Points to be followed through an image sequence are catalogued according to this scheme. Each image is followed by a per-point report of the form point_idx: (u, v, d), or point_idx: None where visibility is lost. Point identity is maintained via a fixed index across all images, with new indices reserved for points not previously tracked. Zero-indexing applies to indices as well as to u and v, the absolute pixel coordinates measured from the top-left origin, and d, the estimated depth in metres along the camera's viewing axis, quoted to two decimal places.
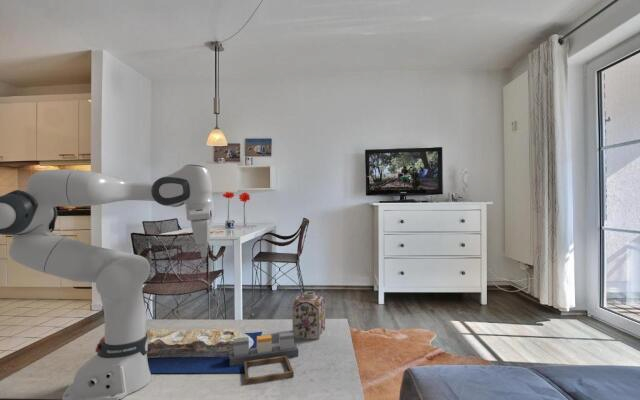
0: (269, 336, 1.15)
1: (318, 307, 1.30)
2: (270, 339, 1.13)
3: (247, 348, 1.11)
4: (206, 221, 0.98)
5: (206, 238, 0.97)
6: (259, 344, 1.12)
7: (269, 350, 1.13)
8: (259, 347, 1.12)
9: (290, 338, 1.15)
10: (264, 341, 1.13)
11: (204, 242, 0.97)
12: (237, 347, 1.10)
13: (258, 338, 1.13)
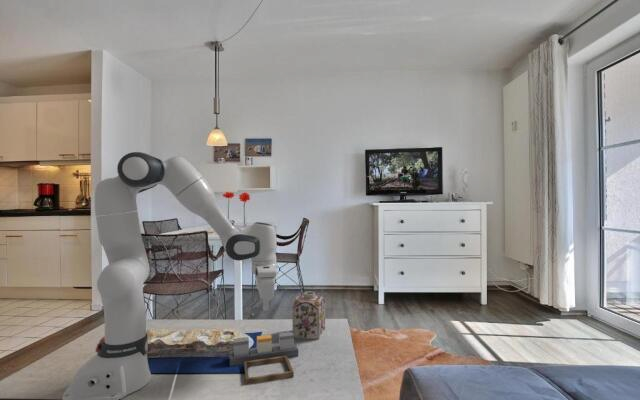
0: (269, 336, 1.15)
1: (318, 307, 1.30)
2: (270, 339, 1.13)
3: (247, 348, 1.11)
4: (273, 279, 1.07)
5: (272, 296, 1.06)
6: (259, 344, 1.12)
7: (269, 350, 1.13)
8: (259, 347, 1.12)
9: (290, 338, 1.15)
10: (264, 341, 1.13)
11: (270, 299, 1.06)
12: (237, 347, 1.10)
13: (258, 338, 1.13)
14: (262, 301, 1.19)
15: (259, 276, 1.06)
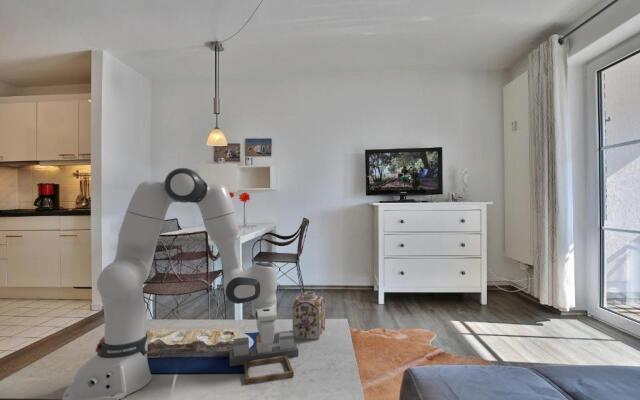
0: None
1: (318, 307, 1.30)
2: None
3: (247, 348, 1.11)
4: (273, 323, 1.06)
5: (272, 340, 1.05)
6: (259, 344, 1.12)
7: (269, 350, 1.13)
8: (259, 347, 1.12)
9: (290, 338, 1.15)
10: None
11: (270, 343, 1.05)
12: (237, 347, 1.10)
13: (258, 338, 1.13)
14: None
15: (259, 320, 1.05)
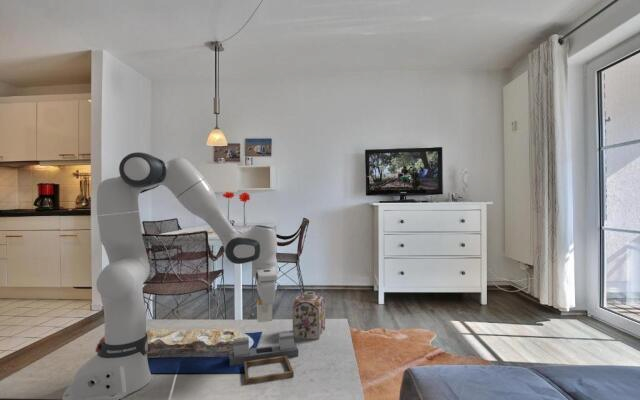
0: None
1: (318, 307, 1.30)
2: None
3: (247, 348, 1.11)
4: (274, 283, 1.06)
5: (273, 299, 1.05)
6: (259, 306, 1.12)
7: (269, 312, 1.13)
8: (259, 309, 1.12)
9: (290, 338, 1.15)
10: None
11: (270, 303, 1.05)
12: (237, 347, 1.10)
13: (258, 300, 1.12)
14: None
15: (260, 280, 1.05)
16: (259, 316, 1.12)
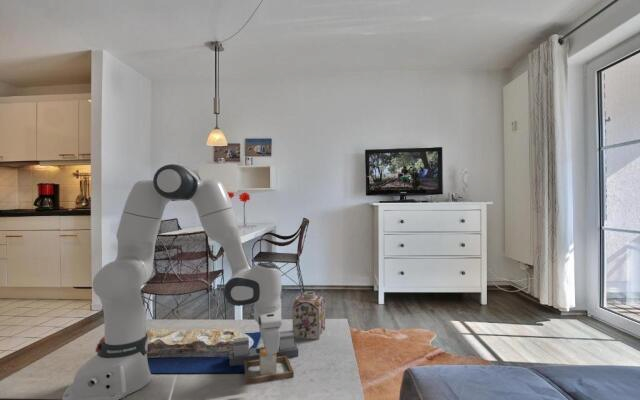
0: None
1: (318, 307, 1.30)
2: (274, 353, 1.04)
3: (247, 348, 1.11)
4: (278, 330, 0.97)
5: (277, 348, 0.96)
6: (262, 358, 1.03)
7: (273, 365, 1.04)
8: (262, 362, 1.03)
9: (290, 338, 1.15)
10: None
11: (274, 352, 0.96)
12: (237, 347, 1.10)
13: (261, 352, 1.03)
14: None
15: (263, 327, 0.96)
16: (262, 369, 1.03)
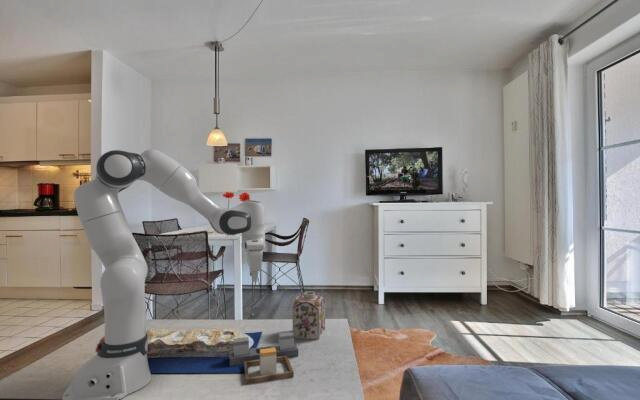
0: (273, 349, 1.05)
1: (318, 307, 1.30)
2: (274, 353, 1.04)
3: (247, 348, 1.11)
4: (261, 252, 1.15)
5: (260, 266, 1.14)
6: (262, 358, 1.03)
7: (273, 365, 1.04)
8: (262, 362, 1.03)
9: (290, 338, 1.15)
10: (267, 355, 1.03)
11: (258, 270, 1.14)
12: (237, 347, 1.10)
13: (261, 352, 1.03)
14: (252, 275, 1.27)
15: (248, 248, 1.14)
16: (262, 369, 1.03)
